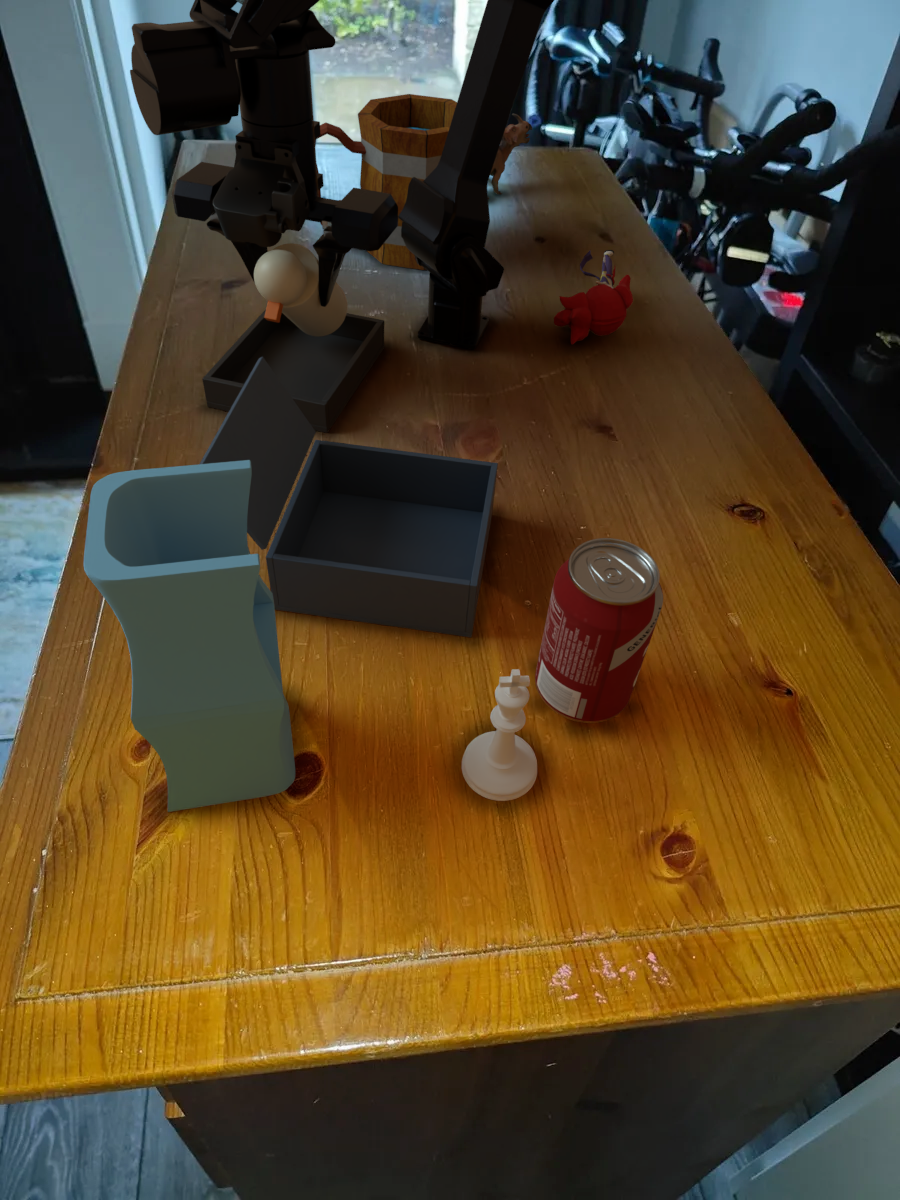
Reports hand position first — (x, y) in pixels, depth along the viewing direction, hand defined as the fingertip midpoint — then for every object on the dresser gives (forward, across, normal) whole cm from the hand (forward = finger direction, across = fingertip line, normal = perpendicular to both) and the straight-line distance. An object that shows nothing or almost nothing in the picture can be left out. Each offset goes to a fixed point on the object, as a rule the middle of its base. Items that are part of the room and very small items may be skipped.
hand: (294, 298), depth 79 cm
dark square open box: (+8, +17, -22) cm, 29 cm away
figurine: (+8, +26, +22) cm, 35 cm away
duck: (+4, 0, +6) cm, 7 cm away
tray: (+8, 0, 0) cm, 8 cm away
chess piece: (+8, +30, -38) cm, 49 cm away
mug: (+8, -1, +31) cm, 32 cm away
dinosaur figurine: (+8, +5, +52) cm, 53 cm away
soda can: (+8, +34, -30) cm, 46 cm away
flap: (-1, +8, -23) cm, 25 cm away
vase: (+8, +13, -42) cm, 45 cm away
